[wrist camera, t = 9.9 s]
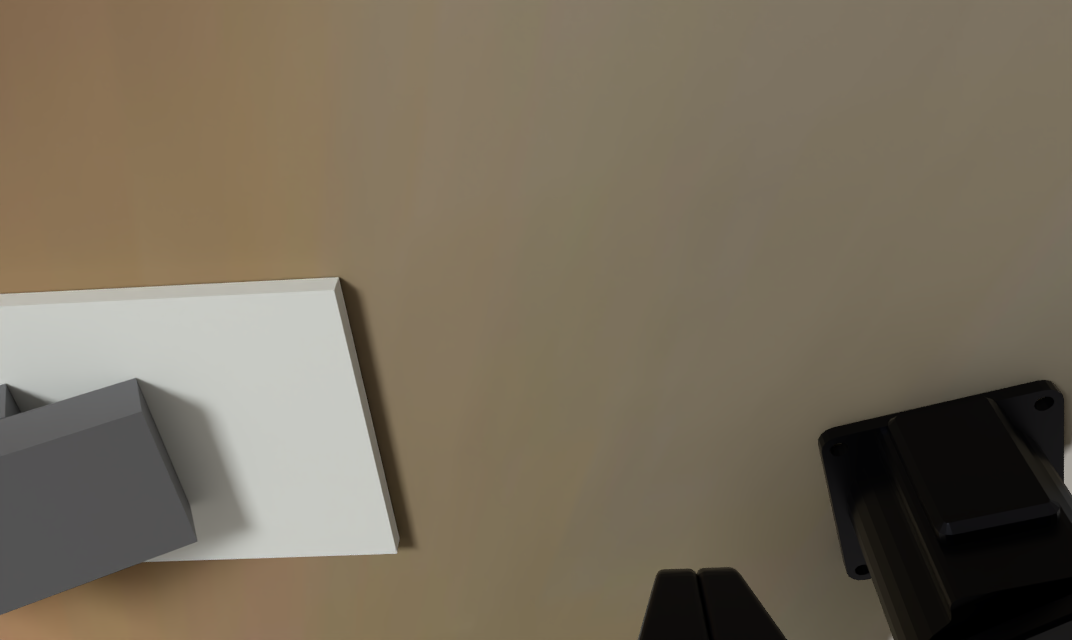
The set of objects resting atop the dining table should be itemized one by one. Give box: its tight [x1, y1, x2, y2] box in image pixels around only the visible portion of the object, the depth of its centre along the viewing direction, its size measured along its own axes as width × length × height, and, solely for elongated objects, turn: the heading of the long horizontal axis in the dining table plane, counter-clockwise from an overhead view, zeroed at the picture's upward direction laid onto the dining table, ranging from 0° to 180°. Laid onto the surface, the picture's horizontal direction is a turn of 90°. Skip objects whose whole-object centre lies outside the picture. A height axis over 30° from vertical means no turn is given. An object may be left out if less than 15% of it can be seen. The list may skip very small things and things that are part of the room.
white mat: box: [0, 277, 400, 562], centre depth 26 cm, size 20×10×1 cm, turn 94°
